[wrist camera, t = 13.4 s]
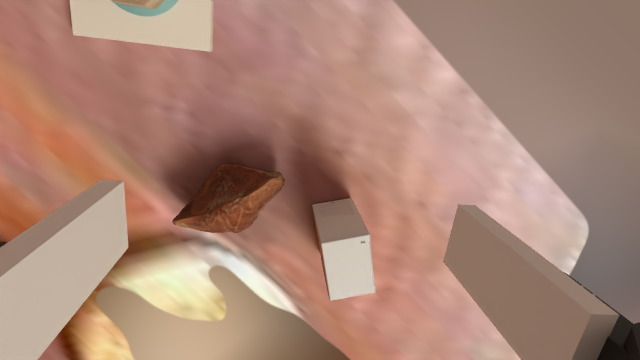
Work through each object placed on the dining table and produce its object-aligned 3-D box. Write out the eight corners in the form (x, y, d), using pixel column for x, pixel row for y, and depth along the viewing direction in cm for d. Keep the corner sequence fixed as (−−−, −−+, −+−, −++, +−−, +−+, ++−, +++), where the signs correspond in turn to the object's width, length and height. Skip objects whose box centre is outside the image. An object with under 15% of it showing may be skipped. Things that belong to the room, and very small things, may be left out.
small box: (311, 203, 47) (319, 241, 37) (351, 196, 47) (370, 232, 37) (319, 254, 50) (328, 302, 40) (357, 247, 50) (376, 293, 40)
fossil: (172, 241, 43) (179, 240, 34) (166, 174, 44) (172, 157, 35) (269, 228, 49) (297, 224, 40) (263, 169, 50) (288, 153, 41)
